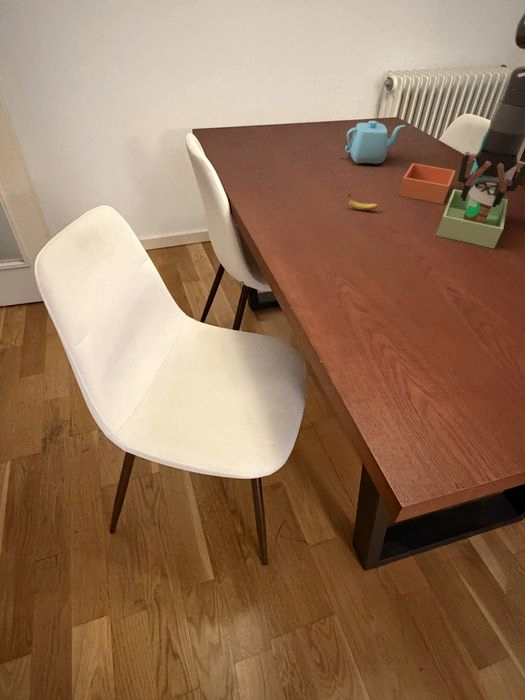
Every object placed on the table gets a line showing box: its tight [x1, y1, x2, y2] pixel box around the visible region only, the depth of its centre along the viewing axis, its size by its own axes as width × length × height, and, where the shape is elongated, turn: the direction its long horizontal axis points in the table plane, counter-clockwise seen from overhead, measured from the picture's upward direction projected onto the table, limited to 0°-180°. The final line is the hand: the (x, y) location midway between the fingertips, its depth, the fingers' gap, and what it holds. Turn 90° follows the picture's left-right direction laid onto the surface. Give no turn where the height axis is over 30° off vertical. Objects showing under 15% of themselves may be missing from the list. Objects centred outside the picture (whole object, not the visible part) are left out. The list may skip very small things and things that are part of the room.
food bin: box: [435, 188, 509, 250], centre depth 99 cm, size 13×17×5 cm
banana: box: [347, 193, 378, 211], centre depth 106 cm, size 8×2×4 cm, turn 75°
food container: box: [463, 177, 500, 224], centre depth 97 cm, size 12×6×10 cm, turn 149°
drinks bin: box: [398, 162, 456, 205], centre depth 114 cm, size 12×12×5 cm
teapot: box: [344, 120, 407, 165], centre depth 129 cm, size 12×18×12 cm
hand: (478, 202), depth 97 cm, fingers closed on food container, 6 cm apart
